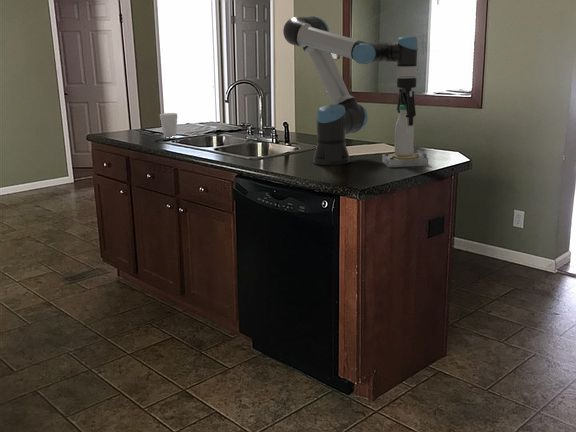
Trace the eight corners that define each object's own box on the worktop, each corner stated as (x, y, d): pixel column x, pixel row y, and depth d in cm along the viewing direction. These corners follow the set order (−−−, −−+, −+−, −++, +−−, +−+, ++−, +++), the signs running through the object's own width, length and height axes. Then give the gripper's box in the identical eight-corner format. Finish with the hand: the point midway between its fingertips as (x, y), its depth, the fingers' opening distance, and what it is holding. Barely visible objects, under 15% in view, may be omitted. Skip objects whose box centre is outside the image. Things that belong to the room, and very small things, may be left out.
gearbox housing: (388, 167, 242) (388, 156, 241) (382, 161, 254) (382, 150, 252) (428, 165, 243) (428, 154, 242) (419, 159, 255) (420, 149, 253)
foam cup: (159, 139, 332) (157, 115, 328) (165, 136, 341) (163, 113, 337) (175, 138, 330) (173, 114, 327) (181, 136, 339) (179, 112, 336)
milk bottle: (412, 156, 243) (414, 106, 237) (393, 156, 245) (394, 106, 239) (414, 153, 250) (416, 104, 244) (395, 152, 252) (396, 104, 246)
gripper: (425, 79, 227) (423, 135, 233) (408, 75, 251) (406, 126, 257) (405, 79, 227) (403, 136, 232) (390, 75, 250) (389, 127, 256)
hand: (405, 131), depth 245 cm, fingers open, 13 cm apart
